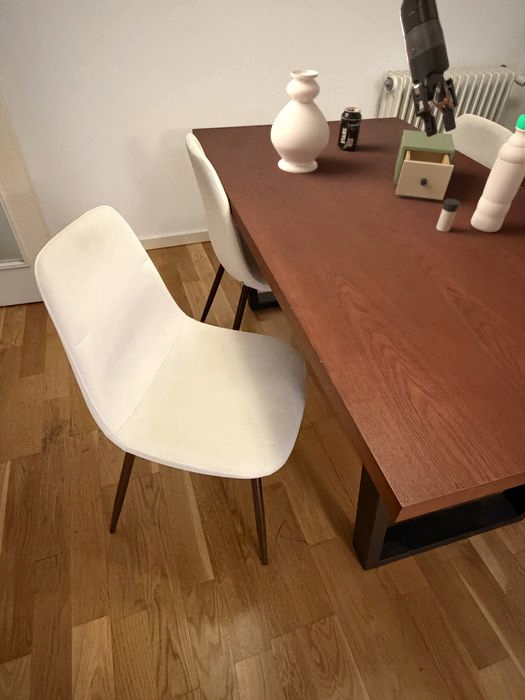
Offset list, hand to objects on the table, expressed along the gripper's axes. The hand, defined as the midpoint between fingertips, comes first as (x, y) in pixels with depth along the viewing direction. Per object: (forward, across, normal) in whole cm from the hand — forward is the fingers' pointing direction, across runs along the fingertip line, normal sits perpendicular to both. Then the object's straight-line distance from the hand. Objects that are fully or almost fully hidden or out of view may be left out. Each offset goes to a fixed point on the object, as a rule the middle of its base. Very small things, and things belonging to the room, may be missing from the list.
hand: (442, 132), depth 90 cm
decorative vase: (-8, +5, +49) cm, 50 cm away
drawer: (+11, +16, +17) cm, 26 cm away
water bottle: (+24, +10, -1) cm, 27 cm away
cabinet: (+8, +25, +22) cm, 34 cm away
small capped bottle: (+21, +2, +5) cm, 22 cm away
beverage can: (-9, +30, +48) cm, 57 cm away
